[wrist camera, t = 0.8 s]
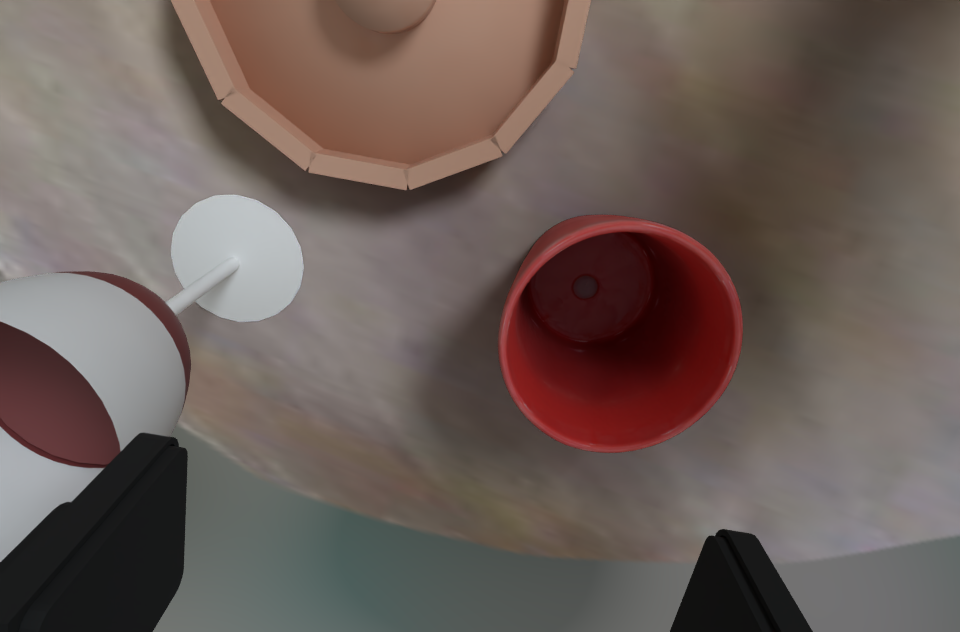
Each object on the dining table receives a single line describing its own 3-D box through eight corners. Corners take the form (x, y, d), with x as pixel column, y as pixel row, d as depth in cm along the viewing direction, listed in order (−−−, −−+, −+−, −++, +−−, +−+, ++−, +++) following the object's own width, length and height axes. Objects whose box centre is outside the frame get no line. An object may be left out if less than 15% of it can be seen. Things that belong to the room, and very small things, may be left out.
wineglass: (136, 269, 36) (-233, 470, 18) (222, 154, 34) (-98, 244, 15) (250, 355, 38) (25, 619, 19) (339, 251, 36) (181, 437, 17)
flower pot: (465, 330, 38) (459, 410, 28) (540, 155, 34) (560, 182, 25) (626, 390, 39) (669, 485, 30) (714, 227, 35) (794, 279, 26)
